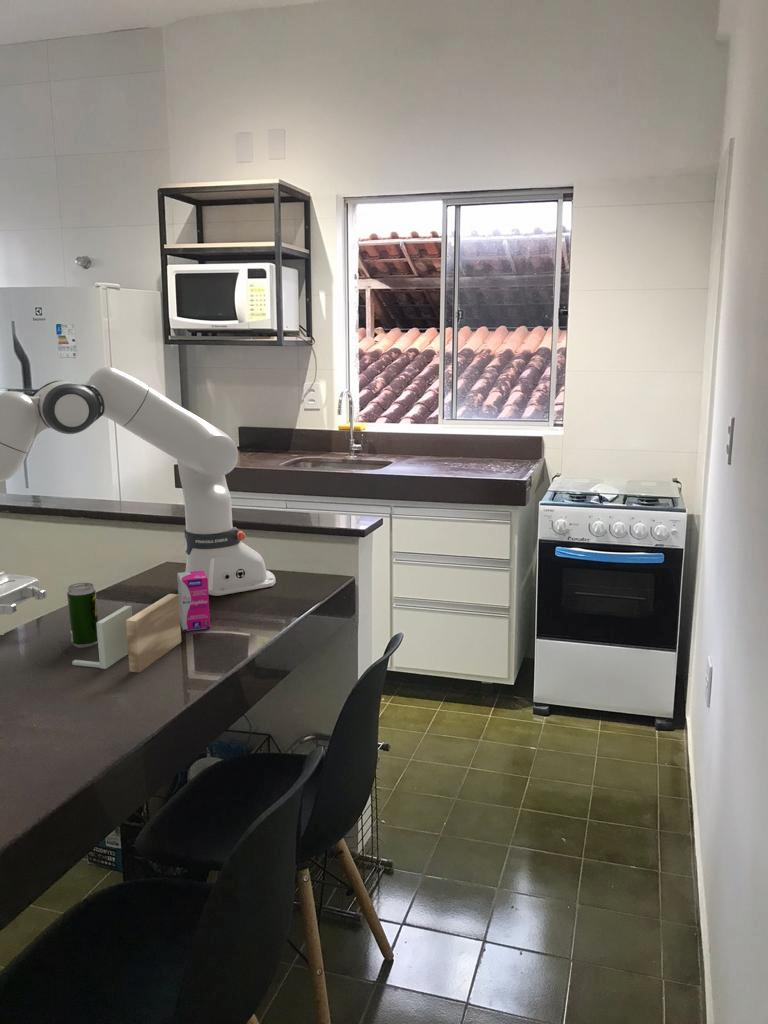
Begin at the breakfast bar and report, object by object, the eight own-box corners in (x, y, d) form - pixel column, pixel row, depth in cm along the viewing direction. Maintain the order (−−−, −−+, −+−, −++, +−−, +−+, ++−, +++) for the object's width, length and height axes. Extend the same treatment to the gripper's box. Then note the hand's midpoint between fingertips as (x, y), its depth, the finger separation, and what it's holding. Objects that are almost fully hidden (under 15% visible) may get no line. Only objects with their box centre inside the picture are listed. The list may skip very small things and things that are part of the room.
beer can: (75, 650, 167) (70, 592, 164) (68, 641, 171) (63, 585, 168) (103, 644, 170) (98, 587, 167) (95, 636, 174) (91, 580, 171)
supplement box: (182, 632, 176) (179, 579, 173) (179, 623, 181) (176, 572, 179) (210, 629, 178) (208, 576, 175) (206, 620, 183) (204, 569, 181)
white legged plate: (71, 665, 159) (67, 619, 157) (102, 646, 169) (98, 603, 167) (105, 669, 157) (102, 623, 155) (134, 649, 167) (131, 606, 165)
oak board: (129, 671, 156) (125, 620, 154) (172, 640, 171) (169, 593, 169) (139, 672, 156) (135, 621, 153) (181, 641, 171) (178, 594, 169)
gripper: (-68, 597, 165) (-8, 602, 161) (3, 568, 184) (59, 573, 180) (-65, 627, 166) (-5, 634, 162) (6, 596, 185) (61, 601, 182)
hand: (29, 601), depth 172 cm, fingers open, 8 cm apart
